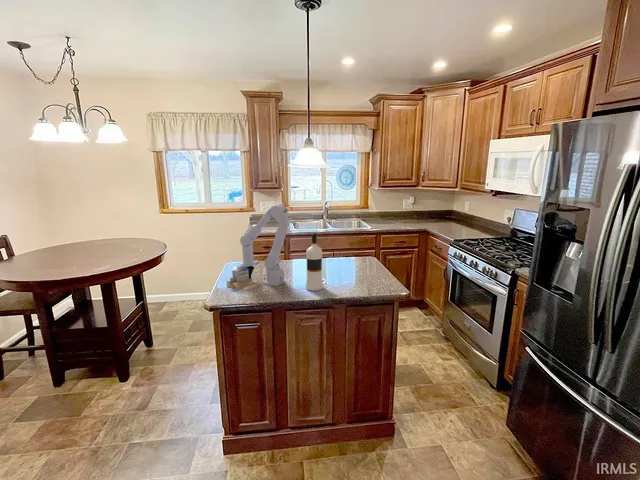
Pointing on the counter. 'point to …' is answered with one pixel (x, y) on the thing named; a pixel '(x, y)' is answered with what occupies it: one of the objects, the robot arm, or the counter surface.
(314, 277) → the vodka
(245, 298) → the counter surface
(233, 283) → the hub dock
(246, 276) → the medicine box
